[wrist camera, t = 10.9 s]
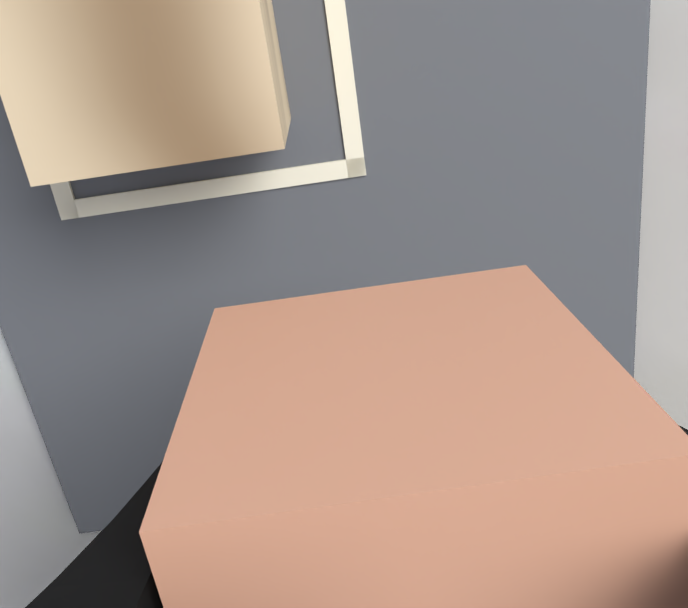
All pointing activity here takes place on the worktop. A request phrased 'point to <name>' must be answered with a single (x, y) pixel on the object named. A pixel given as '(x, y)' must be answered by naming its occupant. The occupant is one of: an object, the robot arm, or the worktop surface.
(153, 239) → the build mat
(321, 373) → the terracotta block
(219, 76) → the maple block
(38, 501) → the worktop surface
